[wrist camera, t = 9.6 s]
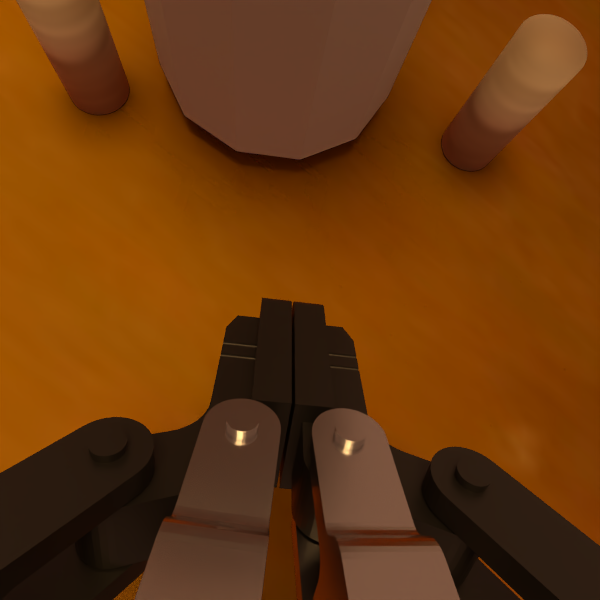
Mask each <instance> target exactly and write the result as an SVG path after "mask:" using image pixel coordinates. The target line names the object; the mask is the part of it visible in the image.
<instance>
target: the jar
mask: <svg viewBox="0 0 600 600" xmlns="http://www.w3.org/2000/svg"><path fill="white" fill-rule="evenodd" d="M144 1H145V5H146V9H147V13H148V17H149V21H150V25H151V29H152V33H153V37H154V42H155V46H156V50H157V54H158V58H159V62H160V65H161V67H162V69H163V71H164V73H165V75H166V78H167V80H168V82H169V84H170V86H171V88H172V90H173V92H174V95H175V97H176V99H177V101H178V103H179V105H180V107H181V109H182V112H183V114H184V116H186V117H187V118H189V119H190V120H192V121H193V122H195V123H196V124H198V125H199V126H200V127H202V128H203V129H205V130H206V131H208V132H209V133H211V134H212V135H214V136H215V137H216V138H218V139H219V140H221V141H222V142H224V143H225V144H227V145H228V146H230V147H231V148H232V149H234V150H235V151H239V152H246V153H254V154H262V155H269V156H277V157H285V158H292V159H303V158H306V157H308V156H311V155H314V154H316V153H319V152H322V151H324V150H327V149H330V148H332V147H335V146H338V145H340V144H343V143H346V142H348V141H351V140H354V139H356V138H357V136H358V135H359V134H360V133H361V131H362V130H363V129H364V127H365V126H366V125H367V123H368V122H369V121H370V119H371V118H372V117H373V115H374V114H375V113H376V111H377V110H378V109H379V108H380V106H381V105H382V104H383V102H384V101H385V100H386V98H387V97H388V95H389V93H390V91H391V88H392V86H393V84H394V82H395V80H396V77H397V75H398V73H399V71H400V69H401V66H402V64H403V62H404V60H405V58H406V55H407V53H408V51H409V49H410V47H411V44H412V42H413V40H414V38H415V36H416V33H417V31H418V29H419V27H420V25H421V22H422V20H423V18H424V16H425V14H426V11H427V9H428V7H429V5H430V3H431V0H144Z"/></svg>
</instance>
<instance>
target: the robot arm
mask: <svg viewBox="0 0 600 600" xmlns="http://www.w3.org/2000/svg"><path fill="white" fill-rule="evenodd" d="M279 470H280V488H285V489H292V515H293V517H292V522H291V531H292V544H293V556H294V569H295V582H296V595H297V600H520V599H519V598H518V597H517V596H516V595H515V594H514V593H513V592H512V591H511V590H510V589H509V588H508V587H507V586H506V585H505V584H504V583H503V582H502V581H501V580H500V579H498V578H497V577H496V576H495V575H494V574H493V573H492V572H491V571H490V570H489V569H488V568H487V567H486V566H485V565H484V564H483V563H482V562H481V561H480V560H479V559H478V557H480V558H481V559H482V560H483V561H484V562H485V563H486V564H487V565H488V566H489V567H490V568H492V569H493V570H494V571H495V572H496V573H497V574H498V575H499V576H500V577H501V578H502V579H503V580H504V581H505V582H506V583H507V584H508V585H509V586H510V587H511V588H513V589H514V590H515V591H516V592H517V593H518V594H519V595H520V596H521V597H522V598H523V599H524V600H600V546H599V545H598V544H596V543H595V542H594V541H593V540H591V539H590V538H589V537H588V536H586V535H585V534H584V533H583V532H581V531H580V530H579V529H577V528H576V527H575V526H574V525H572V524H571V523H570V522H569V521H567V520H566V519H565V518H563V517H562V516H561V515H560V514H558V513H557V512H556V511H555V510H553V509H552V508H551V507H550V506H548V505H547V504H546V503H544V502H543V501H542V500H541V499H539V498H538V497H537V496H536V495H534V494H533V493H532V492H531V491H529V490H528V489H527V488H525V487H524V486H523V485H522V484H520V483H519V482H518V481H517V480H515V479H514V478H513V477H511V476H510V475H509V474H508V473H506V472H505V471H504V470H503V469H501V468H500V467H499V466H498V465H496V464H495V463H494V462H492V461H491V460H490V459H488V458H487V457H485V456H484V455H482V454H480V453H478V452H475V451H473V450H470V449H467V448H462V447H448V448H444V449H442V450H440V451H438V452H437V453H436V454H435V455H434V457H433V458H432V460H431V462H430V461H428V460H425V459H422V458H419V457H416V456H414V455H411V454H408V453H405V452H403V451H400V450H398V449H396V448H394V447H392V446H391V445H389V444H388V441H387V438H386V435H385V433H384V431H383V429H382V428H381V427H380V425H379V424H378V423H377V422H376V421H374V420H373V419H372V418H371V417H369V416H368V415H367V410H366V405H365V400H364V394H363V389H362V384H361V379H360V373H359V371H358V363H357V359H356V352H355V347H354V342H353V340H352V339H351V337H350V336H349V335H348V334H347V332H346V331H345V330H344V329H343V327H334V326H326V322H325V313H324V306H323V305H319V304H311V303H302V302H293V306H292V302H291V301H286V300H277V299H268V298H262V303H261V311H260V318H255V317H246V316H237V317H236V318H235V319H234V320H233V321H232V322H231V323H230V324H229V325H228V326H227V327H226V332H225V337H224V342H223V346H222V351H221V356H220V360H219V365H218V370H217V375H216V379H215V384H214V389H213V394H212V398H211V402H210V406H209V408H208V409H207V411H206V412H205V414H204V415H203V416H202V417H201V418H200V419H198V420H197V421H196V422H194V423H192V424H190V425H188V426H186V427H184V428H181V429H178V430H173V431H168V432H162V433H156V434H151V433H150V431H149V430H148V429H147V428H146V427H145V426H144V425H143V424H141V423H140V422H137V421H135V420H132V419H129V418H122V417H111V418H104V419H100V420H96V421H93V422H91V423H89V424H87V425H85V426H83V427H81V428H79V429H77V430H76V431H74V432H72V433H70V434H69V435H67V436H65V437H63V438H62V439H60V440H58V441H56V442H54V443H53V444H51V445H49V446H47V447H46V448H44V449H42V450H40V451H39V452H37V453H35V454H33V455H32V456H30V457H28V458H26V459H25V460H23V461H21V462H19V463H17V464H16V465H14V466H12V467H10V468H9V469H7V470H5V471H3V472H2V473H0V600H113V599H114V598H115V597H116V596H117V595H118V594H119V593H121V592H122V591H123V590H124V589H125V588H126V587H127V586H128V585H129V584H131V583H132V582H133V581H134V580H135V579H136V578H137V577H138V576H139V575H141V574H142V573H143V572H144V574H143V577H142V580H141V583H140V586H139V588H138V591H137V594H136V597H135V600H261V598H262V589H263V581H264V573H265V565H266V557H267V549H268V540H269V521H270V513H271V505H272V497H273V489H274V487H275V488H276V487H277V481H278V476H279ZM144 570H145V571H144Z"/></svg>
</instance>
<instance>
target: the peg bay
mask: <svg viewBox="0 0 600 600" xmlns="http://www.w3.org/2000/svg"><path fill="white" fill-rule="evenodd" d="M16 1H17V3H18V4H19V6H20V8H21V10H22V12H23V13H24V15H25V17H26V19H27V21H28V22H29V24H30V26H31V28H32V30H33V31H34V33H35V35H36V37H37V39H38V40H39V42H40V44H41V46H42V47H43V49H44V51H45V53H46V55H47V56H48V58H49V60H50V62H51V64H52V65H53V67H54V69H55V71H56V73H57V74H58V76H59V78H60V80H61V82H62V83H63V85H64V87H65V89H66V91H67V92H68V94H69V96H70V98H71V100H72V101H73V103H74V104H75V105H76V106H77V107H78V108H79V109H81V110H82V111H84V112H87V113H90V114H95V115H103V114H108V113H111V112H114V111H116V110H117V109H119V108H120V107H121V106H122V105H123V104H124V103H125V102H126V100H127V98H128V95H129V84H128V81H127V78H126V75H125V72H124V69H123V67H122V64H121V61H120V58H119V55H118V53H117V50H116V47H115V44H114V41H113V38H112V36H111V33H110V30H109V27H108V24H107V22H106V19H105V16H104V13H103V10H102V7H101V5H100V2H99V0H16ZM586 59H587V47H586V43H585V41H584V39H583V37H582V35H581V34H580V32H579V31H578V30H577V29H576V28H575V27H574V26H573V25H572V24H571V23H569V22H568V21H566V20H564V19H562V18H560V17H558V16H554V15H549V14H539V15H535V16H532V17H530V18H528V19H527V20H525V21H524V22H523V23H522V25H521V26H520V27H519V29H518V30H517V32H516V33H515V34H514V36H513V37H512V39H511V40H510V41H509V43H508V44H507V45H506V47H505V48H504V50H503V51H502V52H501V54H500V55H499V57H498V58H497V59H496V61H495V62H494V64H493V65H492V66H491V68H490V69H489V71H488V72H487V73H486V75H485V76H484V78H483V79H482V80H481V82H480V83H479V85H478V86H477V87H476V89H475V90H474V92H473V93H472V94H471V96H470V97H469V99H468V100H467V101H466V103H465V104H464V106H463V107H462V108H461V110H460V111H459V113H458V114H457V115H456V117H455V118H454V120H453V121H452V122H451V124H450V125H449V127H448V128H447V129H446V131H445V132H444V134H443V136H442V141H441V146H442V150H443V153H444V155H445V157H446V158H447V159H448V161H449V162H450V163H451V164H453V165H454V166H456V167H457V168H459V169H462V170H466V171H476V170H480V169H482V168H484V167H485V166H486V165H487V164H488V163H489V162H490V161H491V160H492V159H493V158H494V157H495V156H496V155H497V154H498V153H499V152H500V151H501V150H502V149H503V148H504V147H505V146H506V145H507V144H508V143H509V142H510V141H511V140H512V139H513V138H514V137H515V136H516V135H517V134H518V133H519V132H520V131H521V130H522V129H523V128H524V127H525V126H526V125H527V124H528V123H529V122H530V121H531V120H532V119H533V118H534V117H535V116H536V115H537V114H538V113H539V112H540V111H541V109H542V108H543V107H544V106H545V105H546V104H547V103H548V102H549V101H550V100H551V99H552V98H553V97H554V96H555V95H556V94H557V93H558V92H559V91H560V90H561V89H562V88H563V87H564V86H565V85H566V84H567V83H568V82H569V81H570V80H571V79H572V78H573V77H574V76H575V75H576V74H577V73H578V72H579V71H580V70H581V69H582V67H583V66H584V64H585V62H586Z"/></svg>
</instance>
